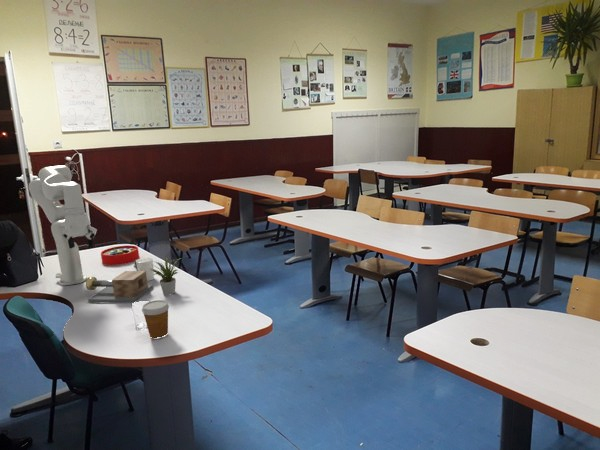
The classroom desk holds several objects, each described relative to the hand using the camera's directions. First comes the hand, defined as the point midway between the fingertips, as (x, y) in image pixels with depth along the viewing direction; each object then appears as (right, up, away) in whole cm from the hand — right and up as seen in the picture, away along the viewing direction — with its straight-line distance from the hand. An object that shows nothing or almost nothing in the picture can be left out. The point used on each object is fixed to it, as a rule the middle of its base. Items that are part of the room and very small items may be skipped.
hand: (81, 247), depth 224 cm
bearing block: (+24, -20, -3) cm, 31 cm away
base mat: (+19, -21, -2) cm, 29 cm away
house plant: (+41, -20, -2) cm, 46 cm away
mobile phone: (+16, -14, +34) cm, 40 cm away
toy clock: (-2, -10, +54) cm, 55 cm away
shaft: (+13, -19, -2) cm, 23 cm away
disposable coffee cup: (+49, -30, -45) cm, 73 cm away
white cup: (+24, -17, +18) cm, 34 cm away
